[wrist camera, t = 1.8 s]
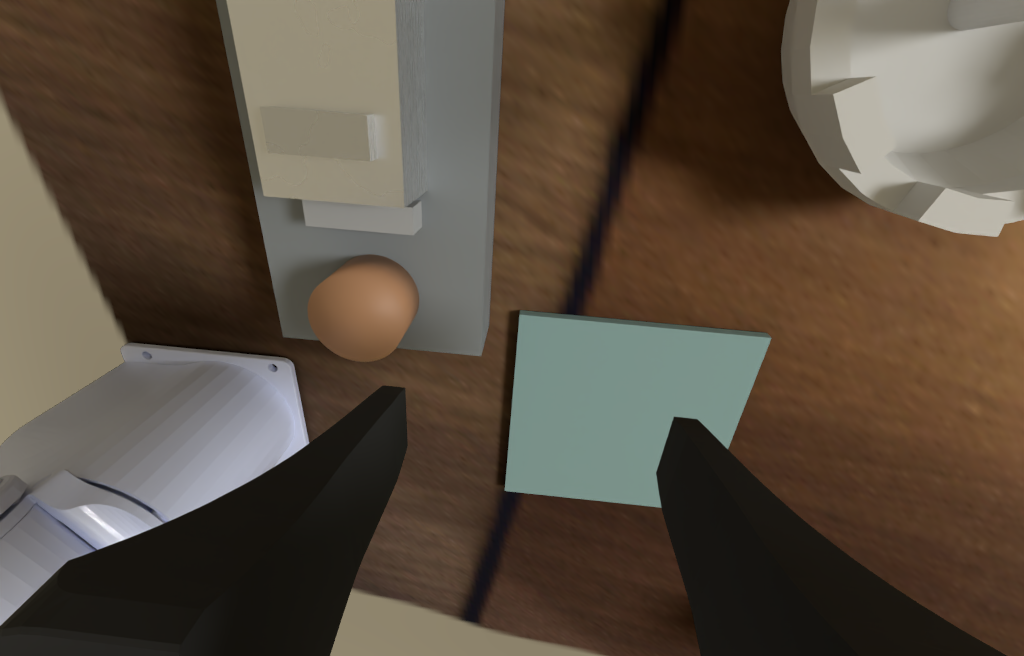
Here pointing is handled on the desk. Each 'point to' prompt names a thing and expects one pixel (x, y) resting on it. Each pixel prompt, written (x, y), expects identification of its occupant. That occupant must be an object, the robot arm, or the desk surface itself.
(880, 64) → the flag stand
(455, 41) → the ridged gray base plate
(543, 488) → the rubber mat
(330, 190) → the lever cap
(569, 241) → the desk surface
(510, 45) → the desk surface
